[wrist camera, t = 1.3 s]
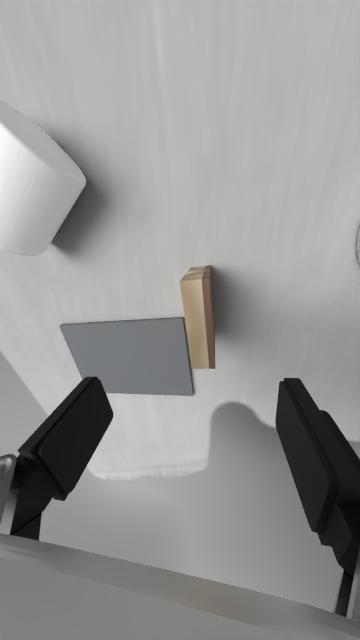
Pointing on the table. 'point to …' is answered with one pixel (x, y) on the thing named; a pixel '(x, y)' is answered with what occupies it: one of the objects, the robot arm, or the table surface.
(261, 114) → the table surface
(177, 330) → the mat
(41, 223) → the mug
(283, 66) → the table surface
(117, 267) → the table surface
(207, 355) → the tile
